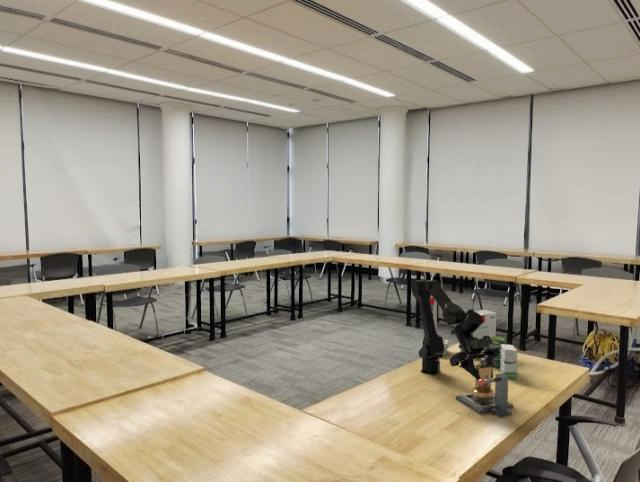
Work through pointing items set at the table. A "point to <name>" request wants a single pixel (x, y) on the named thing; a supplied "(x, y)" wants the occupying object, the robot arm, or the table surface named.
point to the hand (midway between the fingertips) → (485, 378)
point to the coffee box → (497, 343)
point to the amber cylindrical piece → (485, 390)
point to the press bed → (495, 405)
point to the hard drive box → (485, 326)
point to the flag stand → (446, 342)
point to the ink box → (508, 361)
